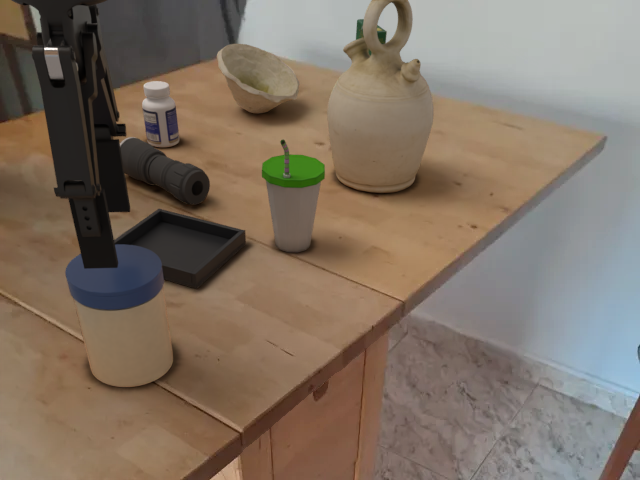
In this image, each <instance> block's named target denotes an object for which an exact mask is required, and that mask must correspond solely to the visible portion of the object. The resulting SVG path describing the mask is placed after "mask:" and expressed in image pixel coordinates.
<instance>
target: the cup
mask: <svg viewBox="0 0 640 480" xmlns="http://www.w3.org/2000/svg"><path fill="white" fill-rule="evenodd" d="M279 143H280V146H281V147H282V149H283V154H280V155H274V156H271V157H270V158H268V159H267V160H265V161H263V162H262V165H261V177H262V178H263V180H265V184H266V190H267V191H266V192H267V198H268V204H269V211H270V217H271V223H272V230H273V235H274V243H275V246H276V247H277V249H278V250H279V251H283V252H286V253H302V252H305V251H307V250H308V249H309V248H310V247H311V242H312V236H313V230H314V223H315V220H316V219H315V218H316V213H317V208H318V200H319V195H320V188H321V183H322V181H323V180H325V177H326V167H325V164H324V163H323V162H322V161H320V160H319V159H317V158H315V157H312V156H308V155H305V154H292V153H291V154H290V149H289V147H288V144H287V142H286V140H285V139H281V140H280V141H279Z"/></svg>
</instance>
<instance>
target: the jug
mask: <svg viewBox="0 0 640 480" xmlns="http://www.w3.org/2000/svg"><path fill="white" fill-rule="evenodd" d="M391 3H392V4H393V5H394V7H395V9H396V13H397V25H396V29H395V32H394V34H393V35H392V37H391V39H389V40H388V41H386V43H385V44H381V43H380V41H379V39H378V35H377V25H378V23H379V20H380V18H381V15H382V13H383V11H384V9H385V8H386V7H387V6H388V5H390V4H391ZM363 19H364V21H363V35H364V38H360V39H357V40H356V39H355V40H352V41H350V42H349V43H347V44H345V46H343V49H342V51H343V53H344V54H345V55H347V57H348V58H349V59H350V61H351V65H350V66H349V68H348V69H347V70H345V71H344V72H342V73H341V74H340V75H339V77H338V78H337V80H336V82H335V84H334V86H333V88H332V90H331V93H330V94H329V98H328V102H327V109H326V111H327V112H326V117H327V118H326V120H327V130H328V139H329V146H330V151H331V156H332V157H331V158H332V163H333V167H334V170H335V175H336V179H338V181H339V182H341V183H342V184H343V185H344V186H347V187H349V188H351V189H354V190H357V191H361V192H367V193H375V194H376V193H377V194H384V193H385V194H386V193H397V192H401V191H404V190H406V189H407V188H409V187H411V186H412V185H413V183H414V182H415V180H416V176H417V173H418V171H419V169H420V166H421V164H422V161H423V158H424V154H425V150H426V148H427V144H428V142H429V139H430V134H431V133H432V132H431V131H432V129H433V124H434V101H433V96H432V92H431V89H430V86H429V83H428V82H427V79H425V77H424V76H423V75H422V73H421V60H420V59H418V58H413V59H412V60H411V61H407V62H405V61H403V59H402V56H401V51H402V50H403V49H404V47H405V46H406V45H407V43H408V41H409V40H410V36H411V33H412V29H413V22H414V21H413V19H414V18H413V10H412V5H411V4H410V2H409V0H370V2H369V4H368V6H367V9H366V10H365V12H364V15H363ZM368 48H369V49H370V51H371V52H372V54H371V56H370V55H369V53H368Z"/></svg>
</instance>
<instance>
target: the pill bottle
mask: <svg viewBox="0 0 640 480" xmlns="http://www.w3.org/2000/svg"><path fill="white" fill-rule="evenodd" d="M170 89H171V88H170V84H169V83H168V82H165V81H160V80H153V81H148V82H146V83H144V84H143V93H144V96H145V98H144V99H143V100H142V103H141V107H142V108H141V109H142V114H143V122H144V128H145V134H146V135H145V136H146V142H147V143H149V144H151V145H152V146H153V147H154V148H170V147H174V146H176V145H177V144H179V143H180V132H179V124H178V123H179V121H178V114H177V106H176V101H175V99H173V98H172V97H171V90H170Z"/></svg>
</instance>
